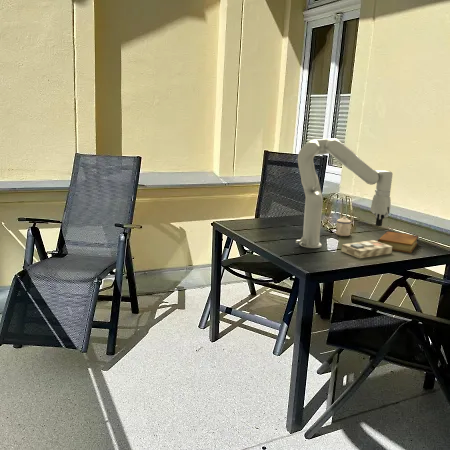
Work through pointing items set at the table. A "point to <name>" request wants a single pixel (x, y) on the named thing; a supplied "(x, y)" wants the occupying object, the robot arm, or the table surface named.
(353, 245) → the key slate
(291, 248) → the table surface
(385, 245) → the beige flat block
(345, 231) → the teacup with lid
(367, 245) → the key offwhite
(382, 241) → the diary
